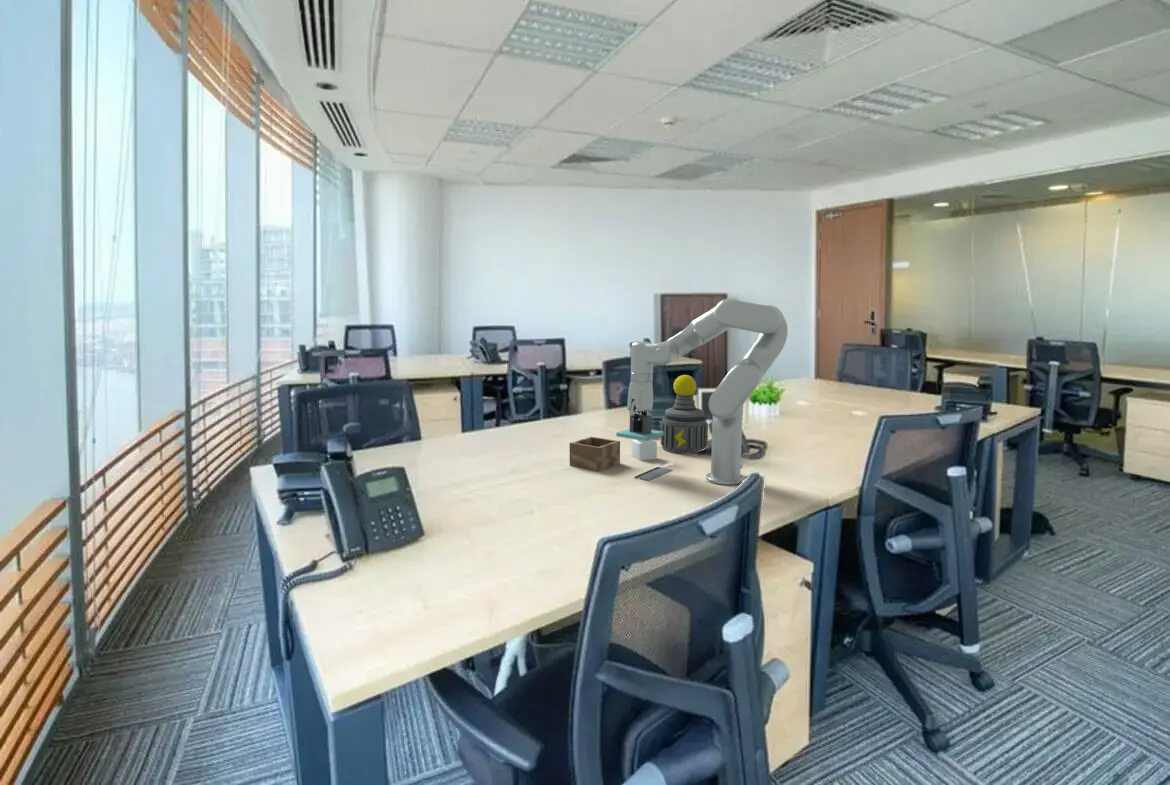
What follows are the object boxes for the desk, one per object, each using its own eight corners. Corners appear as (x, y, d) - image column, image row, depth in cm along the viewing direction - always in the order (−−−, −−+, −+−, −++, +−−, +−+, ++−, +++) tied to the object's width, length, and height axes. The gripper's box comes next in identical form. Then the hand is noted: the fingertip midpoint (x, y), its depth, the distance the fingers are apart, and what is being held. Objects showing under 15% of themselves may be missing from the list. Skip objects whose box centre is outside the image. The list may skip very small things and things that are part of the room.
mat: (633, 463, 228) (633, 462, 228) (672, 470, 219) (672, 469, 219) (609, 472, 216) (609, 472, 216) (648, 480, 206) (648, 479, 206)
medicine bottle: (656, 460, 232) (657, 429, 230) (639, 462, 229) (639, 430, 228) (648, 456, 238) (648, 425, 237) (631, 458, 236) (631, 427, 234)
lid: (634, 430, 224) (635, 410, 223) (664, 435, 217) (664, 414, 216) (616, 436, 214) (616, 415, 213) (646, 441, 207) (646, 420, 206)
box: (591, 459, 233) (591, 436, 232) (619, 465, 225) (620, 441, 224) (569, 467, 223) (569, 443, 222) (599, 473, 215) (599, 448, 214)
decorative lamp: (656, 452, 244) (657, 376, 240) (664, 442, 262) (665, 371, 258) (704, 455, 239) (706, 378, 234) (709, 444, 257) (711, 372, 252)
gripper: (644, 374, 221) (643, 425, 224) (619, 379, 208) (618, 433, 211) (663, 376, 217) (661, 428, 219) (638, 381, 204) (637, 436, 207)
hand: (640, 430), depth 215 cm, fingers closed on lid, 3 cm apart
